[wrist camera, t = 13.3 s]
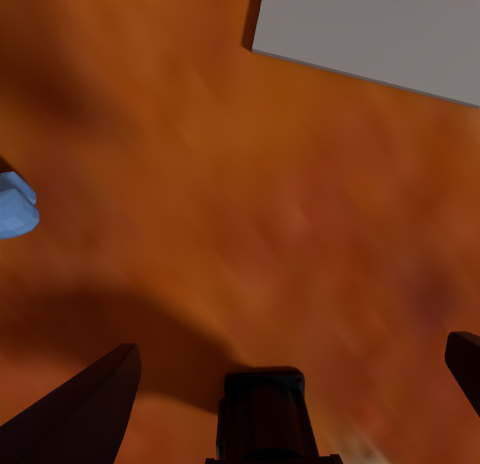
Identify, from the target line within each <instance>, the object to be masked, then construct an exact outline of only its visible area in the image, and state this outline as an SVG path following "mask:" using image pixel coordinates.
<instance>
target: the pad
mask: <svg viewBox="0 0 480 464" xmlns="http://www.w3.org/2000/svg"><path fill="white" fill-rule="evenodd" d="M252 52H254V53H258V54H262V55H266V56H270V57H274V58H278V59H282V60H286V61H290V62H294V63H298V64H302V65H306V66H310V67H314V68H318V69H322V70H326V71H330V72H334V73H338V74H342V75H346V76H350V77H354V78H358V79H362V80H366V81H370V82H373V83H377V84H381V85H385V86H389V87H393V88H397V89H401V90H405V91H409V92H413V93H417V94H421V95H425V96H429V97H433V98H437V99H441V100H445V101H449V102H453V103H457V104H461V105H465V106H469V107H473V108H477V109H480V0H262V2H261V7H260V12H259V17H258V22H257V27H256V32H255V36H254V41H253V46H252Z"/></svg>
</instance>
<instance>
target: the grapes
mask: <svg viewBox="0 0 480 464" xmlns="http://www.w3.org/2000/svg"><path fill="white" fill-rule="evenodd" d="M35 204H36V193H35V192H34V191H33V189H32V188H31V187H30V185H29V184H28V183H27V182H25V181H24V180H23V179H22V178H21V177H20V176H18V175H17V174H16V173H15V172H14V171H11V172H4V173H0V239H7V238H12V237H17V236H20V235H23V234H25V233H28V232H30V231H32V230H33V229H34V228H35V227H36V226H37V224H38V223H39V211H38V210H37V209H36V207H35V206H34V205H35Z"/></svg>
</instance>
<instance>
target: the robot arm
mask: <svg viewBox="0 0 480 464" xmlns="http://www.w3.org/2000/svg"><path fill="white" fill-rule="evenodd" d="M445 362H446V364H447V366H448V368H449V370H450V371H451V373H452V374H453V376H454V378H455V379H456V381H457V382H458V384H459V386H460V387H461V389H462V390H463V392H464V394H465V395H466V397H467V398H468V400H469V402H470V403H471V405H472V406H473V408H474V410H475V411H476V413H477V414H478V416H479V417H480V337H479V336H477V335H474V334H472V333H469V332H465V331H460V332H451V333H450V334H449V335H448V339H447V345H446V351H445ZM141 371H142V367H141V360H140V354H139V348H138V345H137V344H136V343H123V344H121V345H120V346H118V347H117V348H115V349H114V350H112V351H111V352H109V353H108V354H106V355H105V356H103V357H102V358H100V359H99V360H97V361H96V362H94V363H93V364H92V365H90V366H89V367H87V368H86V369H84V370H83V371H81V372H80V373H78V374H77V375H75V376H74V377H72V378H71V379H69V380H68V381H66V382H65V383H64V384H62V385H61V386H59V387H58V388H56V389H55V390H53V391H52V392H50V393H49V394H47V395H46V396H44V397H43V398H41V399H40V400H38V401H37V402H36V403H34V404H33V405H31V406H30V407H28V408H27V409H25V410H24V411H22V412H21V413H19V414H18V415H16V416H15V417H13V418H12V419H10V420H9V421H8V422H6V423H5V424H3V425H2V426H0V464H113V463H114V461H115V458H116V456H117V453H118V450H119V448H120V445H121V442H122V440H123V437H124V434H125V431H126V428H127V425H128V421H129V418H130V414H131V410H132V407H133V403H134V399H135V396H136V392H137V388H138V384H139V381H140V377H141ZM297 377H300V378H299V379H296V378H297ZM228 380H232V381H228ZM224 386H225V398H222V399H221V400H220V401H219V413H218V425H217V437H216V453H217V460H214V458H206V461H205V464H343V462H342V460H341V458H340V456H339V454H330V456H319V453H318V449H317V445H316V441H315V438H314V434H313V430H312V426H311V422H310V419H309V415H308V411H307V407H306V403H305V400H304V389H305V379H304V375H303V373H302V372H300V371H288V372H262V373H235V374H227V375H226V376H225V380H224Z"/></svg>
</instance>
